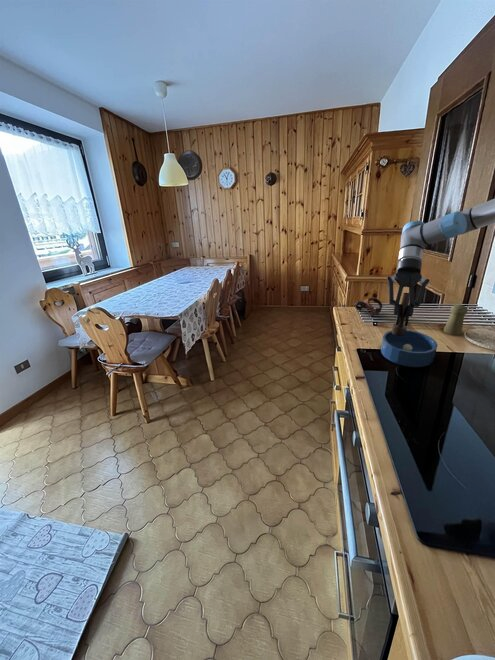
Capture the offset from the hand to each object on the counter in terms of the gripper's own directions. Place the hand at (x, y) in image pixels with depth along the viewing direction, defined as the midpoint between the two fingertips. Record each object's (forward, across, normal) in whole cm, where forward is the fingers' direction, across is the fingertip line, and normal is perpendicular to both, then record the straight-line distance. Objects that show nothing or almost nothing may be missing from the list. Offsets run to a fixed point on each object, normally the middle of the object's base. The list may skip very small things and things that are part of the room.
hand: (401, 323), depth 95 cm
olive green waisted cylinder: (-9, -21, -27) cm, 35 cm away
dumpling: (+6, -4, -8) cm, 11 cm away
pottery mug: (-16, +12, -34) cm, 39 cm away
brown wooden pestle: (+1, 0, -7) cm, 7 cm away
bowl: (+7, -4, -10) cm, 13 cm away
